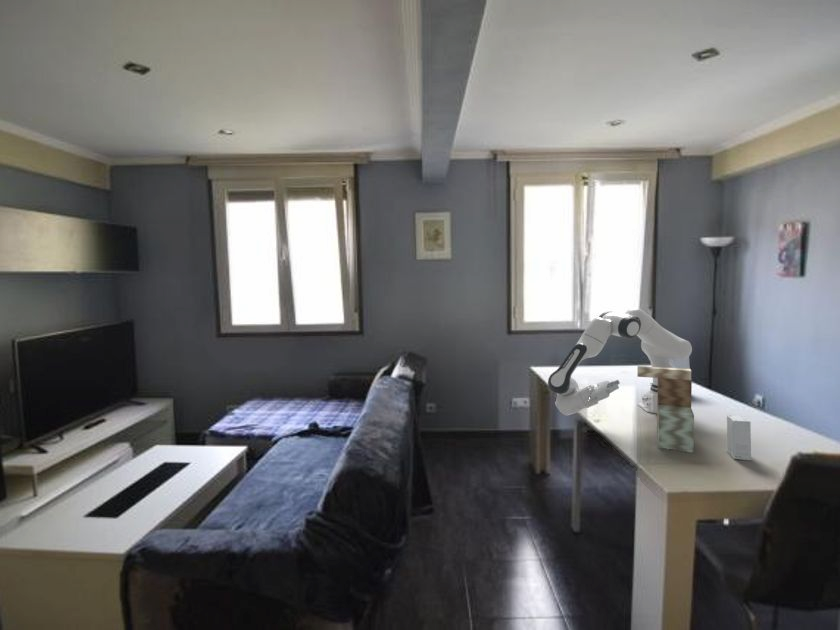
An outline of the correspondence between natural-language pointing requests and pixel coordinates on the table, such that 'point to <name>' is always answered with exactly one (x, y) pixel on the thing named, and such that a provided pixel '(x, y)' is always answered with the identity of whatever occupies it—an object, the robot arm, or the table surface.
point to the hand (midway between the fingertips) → (618, 383)
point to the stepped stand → (675, 414)
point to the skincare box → (739, 437)
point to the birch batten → (664, 373)
